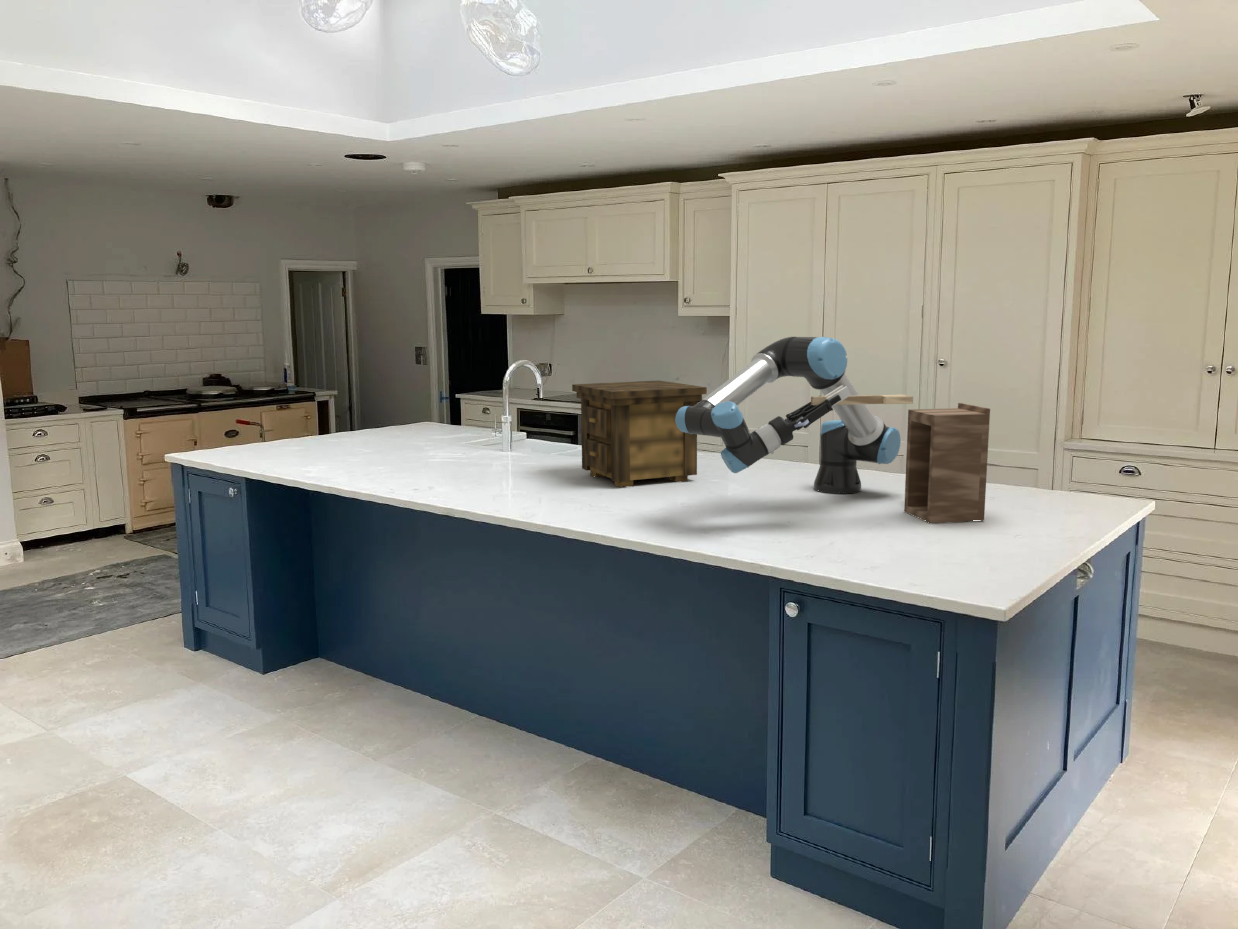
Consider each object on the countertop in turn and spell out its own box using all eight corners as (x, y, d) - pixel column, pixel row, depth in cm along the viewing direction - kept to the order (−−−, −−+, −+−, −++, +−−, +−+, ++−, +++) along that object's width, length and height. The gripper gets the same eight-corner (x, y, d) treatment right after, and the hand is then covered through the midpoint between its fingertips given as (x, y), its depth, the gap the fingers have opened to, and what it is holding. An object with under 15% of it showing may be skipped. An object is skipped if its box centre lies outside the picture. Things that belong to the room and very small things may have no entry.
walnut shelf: (904, 511, 280) (908, 404, 275) (955, 509, 283) (960, 402, 277) (930, 523, 264) (935, 410, 259) (984, 521, 267) (990, 408, 262)
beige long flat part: (808, 403, 264) (808, 395, 264) (903, 401, 269) (904, 393, 269) (815, 405, 259) (816, 397, 259) (912, 403, 263) (913, 395, 263)
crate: (706, 481, 330) (706, 387, 325) (613, 490, 316) (612, 391, 310) (659, 467, 362) (659, 380, 356) (573, 474, 347) (572, 384, 342)
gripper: (771, 442, 270) (842, 399, 271) (790, 450, 255) (864, 404, 256) (759, 419, 268) (830, 376, 269) (777, 426, 253) (851, 380, 254)
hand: (846, 390), depth 263 cm, fingers closed on beige long flat part, 2 cm apart
